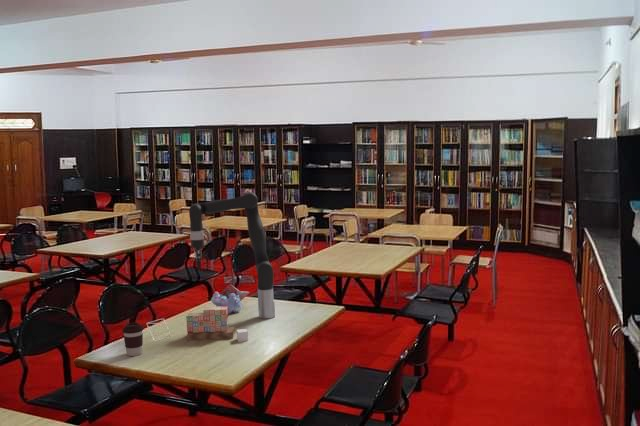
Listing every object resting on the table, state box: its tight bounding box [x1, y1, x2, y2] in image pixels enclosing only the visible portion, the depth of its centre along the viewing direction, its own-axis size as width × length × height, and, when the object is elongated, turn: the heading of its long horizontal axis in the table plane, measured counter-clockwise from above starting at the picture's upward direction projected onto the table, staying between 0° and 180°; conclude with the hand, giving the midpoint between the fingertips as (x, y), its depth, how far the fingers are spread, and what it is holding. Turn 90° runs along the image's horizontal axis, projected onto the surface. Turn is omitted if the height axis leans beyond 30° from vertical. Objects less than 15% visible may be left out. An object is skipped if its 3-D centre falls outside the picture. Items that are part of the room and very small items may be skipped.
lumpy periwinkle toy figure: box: [210, 283, 251, 315], centre depth 360 cm, size 20×22×18 cm
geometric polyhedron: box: [146, 318, 172, 342], centre depth 309 cm, size 12×11×9 cm
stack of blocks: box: [185, 306, 229, 334], centre depth 308 cm, size 21×6×12 cm, turn 92°
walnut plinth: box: [186, 326, 236, 341], centre depth 309 cm, size 24×10×4 cm, turn 93°
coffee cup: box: [121, 322, 144, 357], centre depth 284 cm, size 10×10×15 cm
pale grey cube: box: [236, 328, 249, 343], centre depth 302 cm, size 5×5×5 cm
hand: (198, 266), depth 334 cm, fingers open, 8 cm apart
